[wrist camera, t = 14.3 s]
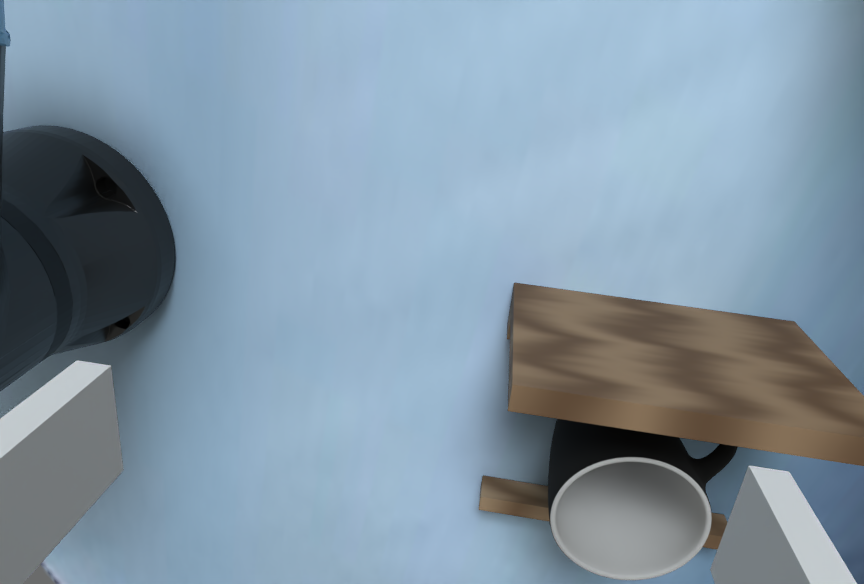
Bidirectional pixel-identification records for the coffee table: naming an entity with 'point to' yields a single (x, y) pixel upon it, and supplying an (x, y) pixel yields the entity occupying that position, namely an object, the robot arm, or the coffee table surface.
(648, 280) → the coffee table surface
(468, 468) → the coffee table surface
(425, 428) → the coffee table surface
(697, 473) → the mug
